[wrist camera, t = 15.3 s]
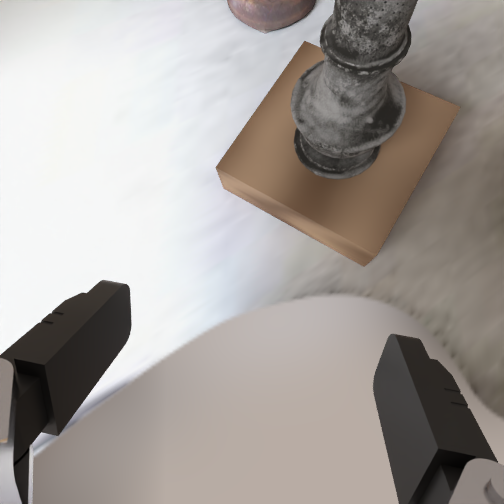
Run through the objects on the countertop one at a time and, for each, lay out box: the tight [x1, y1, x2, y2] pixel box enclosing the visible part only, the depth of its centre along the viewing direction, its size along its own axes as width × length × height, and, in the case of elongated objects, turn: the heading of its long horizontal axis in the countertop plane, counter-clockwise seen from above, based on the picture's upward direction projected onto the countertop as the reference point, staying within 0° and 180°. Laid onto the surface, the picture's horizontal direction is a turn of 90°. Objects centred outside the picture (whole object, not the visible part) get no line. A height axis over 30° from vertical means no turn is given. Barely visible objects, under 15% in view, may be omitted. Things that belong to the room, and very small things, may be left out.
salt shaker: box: [290, 0, 418, 180], centre depth 15 cm, size 6×6×12 cm
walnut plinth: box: [216, 41, 460, 266], centre depth 22 cm, size 11×11×3 cm
